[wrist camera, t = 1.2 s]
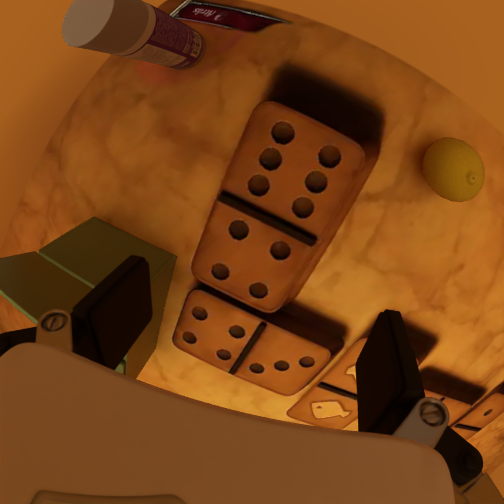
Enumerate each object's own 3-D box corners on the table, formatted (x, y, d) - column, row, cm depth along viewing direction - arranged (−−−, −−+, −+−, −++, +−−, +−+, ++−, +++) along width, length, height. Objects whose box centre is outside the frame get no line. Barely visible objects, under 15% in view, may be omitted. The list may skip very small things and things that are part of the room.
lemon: (467, 166, 23) (508, 185, 16) (432, 199, 25) (465, 227, 18) (438, 123, 22) (477, 128, 15) (401, 157, 25) (431, 172, 18)
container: (182, 22, 22) (89, -24, 9) (214, 43, 23) (129, -6, 10) (155, 56, 25) (51, 35, 11) (185, 77, 25) (84, 60, 12)
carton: (93, 216, 35) (33, 253, 25) (177, 256, 34) (127, 311, 25) (90, 311, 43) (50, 353, 33) (155, 348, 43) (122, 400, 33)
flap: (34, 254, 25) (35, 251, 25) (127, 311, 25) (128, 308, 25) (-27, 267, 16) (-27, 263, 16) (71, 350, 16) (72, 346, 16)
